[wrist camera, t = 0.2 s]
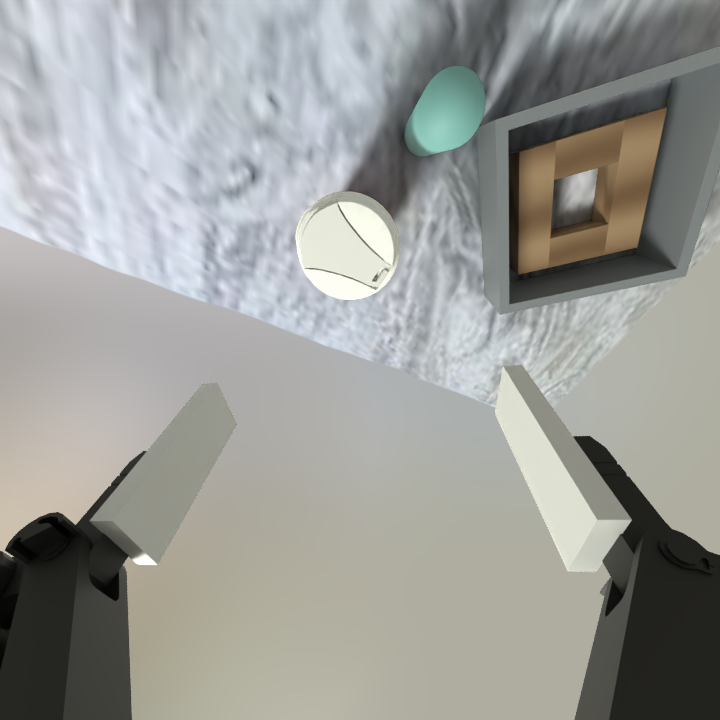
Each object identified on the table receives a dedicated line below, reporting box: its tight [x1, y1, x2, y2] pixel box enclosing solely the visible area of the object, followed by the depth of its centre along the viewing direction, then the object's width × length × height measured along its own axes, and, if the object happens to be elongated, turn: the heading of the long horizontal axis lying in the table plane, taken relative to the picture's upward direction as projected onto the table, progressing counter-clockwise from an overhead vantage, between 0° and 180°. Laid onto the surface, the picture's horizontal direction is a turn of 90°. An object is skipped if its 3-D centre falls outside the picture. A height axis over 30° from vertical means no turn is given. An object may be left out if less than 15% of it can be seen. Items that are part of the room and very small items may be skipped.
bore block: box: [508, 107, 667, 275], centre depth 31 cm, size 12×12×3 cm
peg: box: [404, 66, 485, 157], centre depth 24 cm, size 4×4×14 cm
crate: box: [476, 46, 720, 314], centre depth 30 cm, size 18×18×6 cm
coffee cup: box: [295, 191, 400, 300], centre depth 29 cm, size 8×8×15 cm
